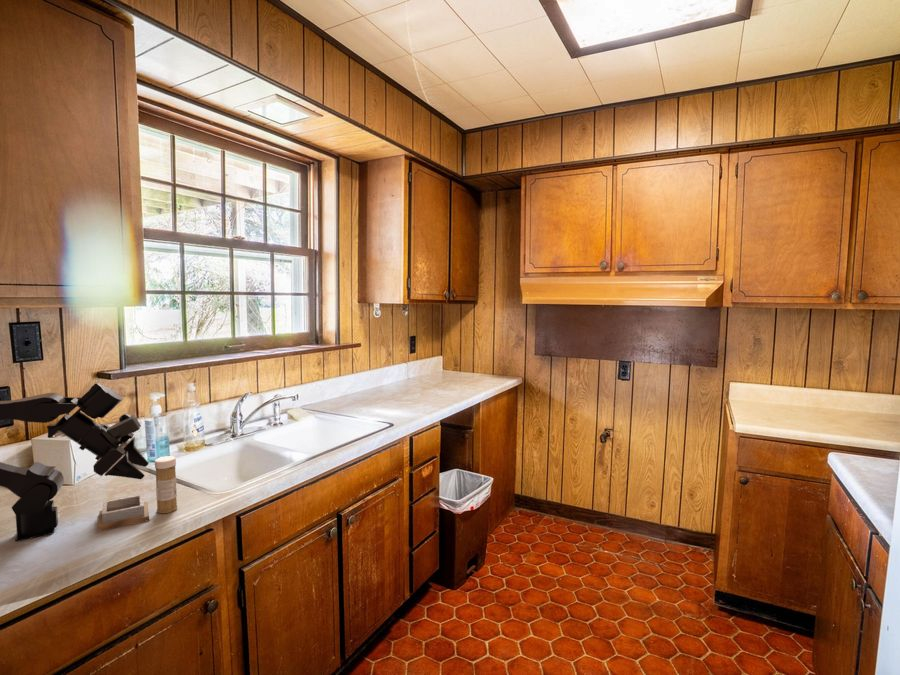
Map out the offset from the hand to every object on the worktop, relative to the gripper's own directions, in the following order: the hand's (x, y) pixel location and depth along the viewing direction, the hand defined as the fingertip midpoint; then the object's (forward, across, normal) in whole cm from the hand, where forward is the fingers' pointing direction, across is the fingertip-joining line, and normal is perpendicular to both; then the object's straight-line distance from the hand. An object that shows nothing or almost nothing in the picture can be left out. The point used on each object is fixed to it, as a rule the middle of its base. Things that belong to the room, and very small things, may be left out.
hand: (145, 471), depth 117 cm
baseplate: (+4, 0, +11) cm, 12 cm away
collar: (+4, 0, +11) cm, 12 cm away
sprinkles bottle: (+11, 0, +5) cm, 12 cm away
